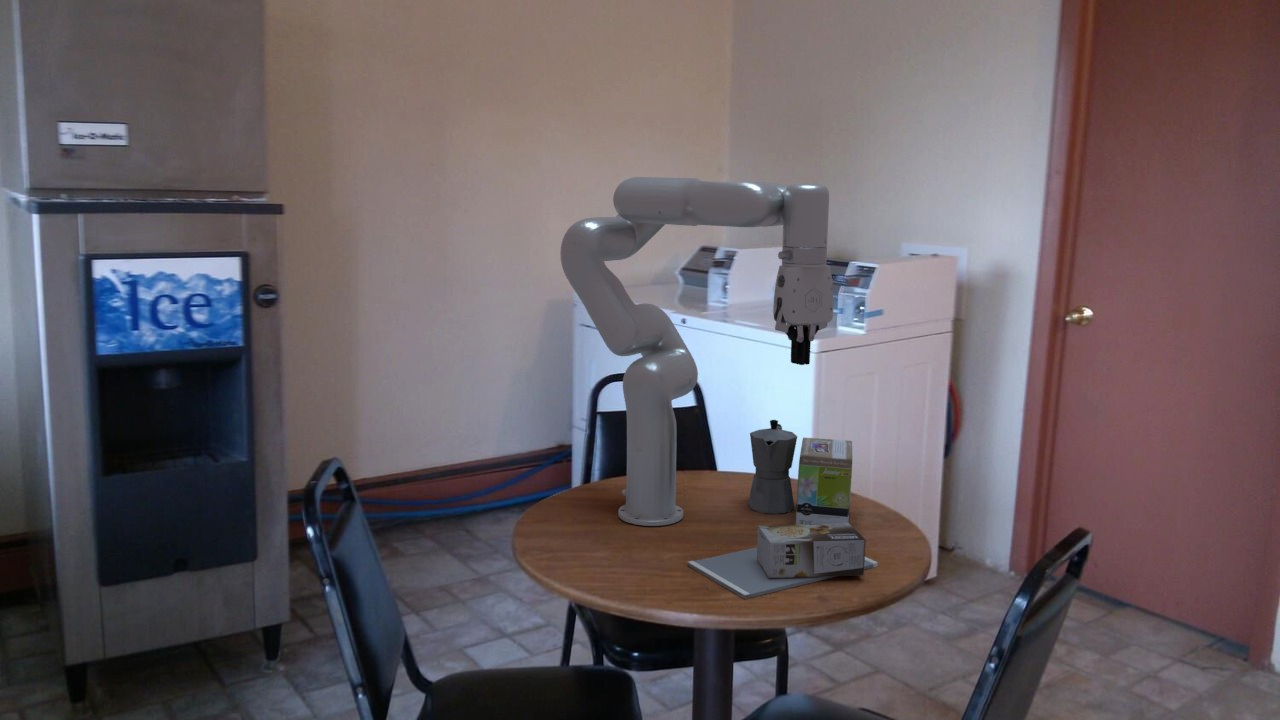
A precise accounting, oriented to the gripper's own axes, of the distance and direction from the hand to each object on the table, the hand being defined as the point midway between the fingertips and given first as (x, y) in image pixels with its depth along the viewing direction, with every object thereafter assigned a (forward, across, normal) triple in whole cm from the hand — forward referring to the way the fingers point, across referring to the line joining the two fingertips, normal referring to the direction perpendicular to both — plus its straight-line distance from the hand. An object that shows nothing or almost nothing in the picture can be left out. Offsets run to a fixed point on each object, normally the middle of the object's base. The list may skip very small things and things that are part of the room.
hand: (800, 363), depth 171 cm
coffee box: (+29, -13, -8) cm, 33 cm away
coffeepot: (+33, +11, +20) cm, 40 cm away
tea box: (+33, +14, +8) cm, 37 cm away
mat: (+33, -8, -7) cm, 35 cm away
